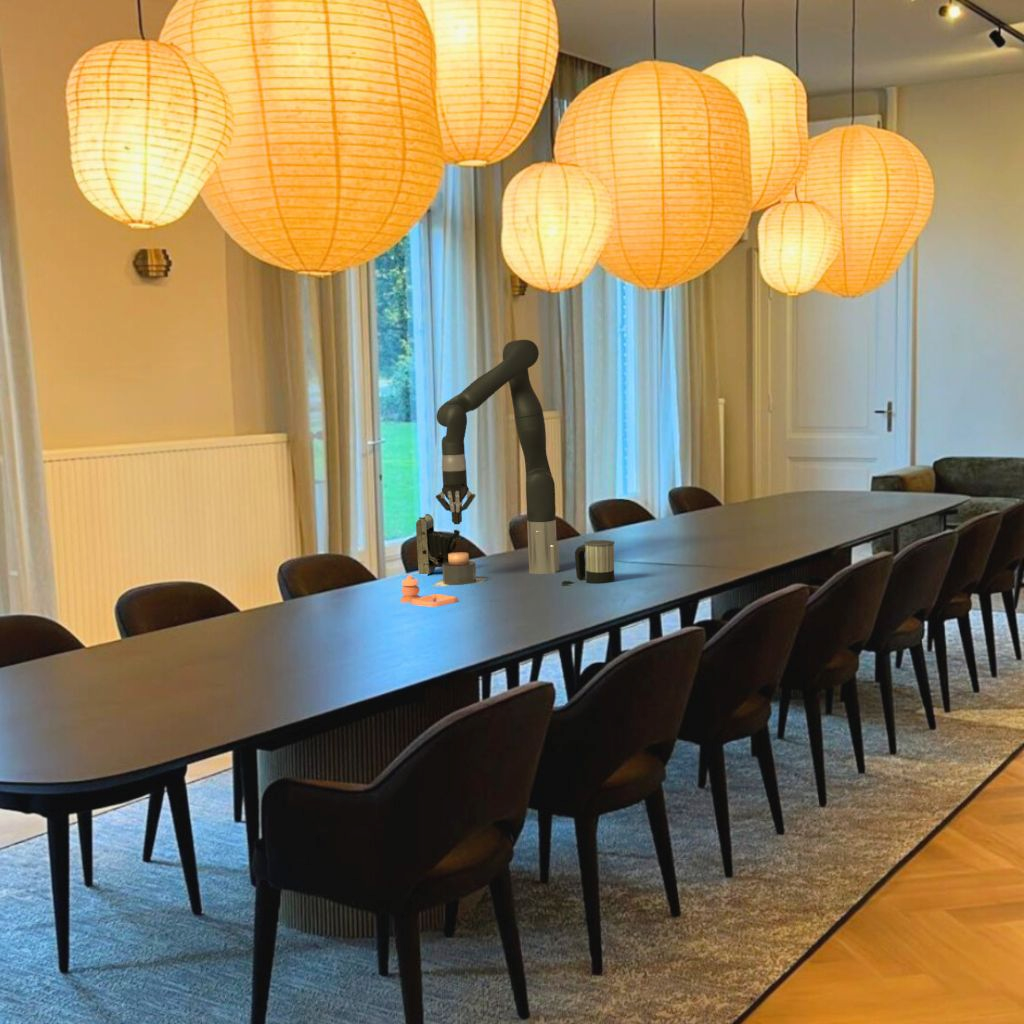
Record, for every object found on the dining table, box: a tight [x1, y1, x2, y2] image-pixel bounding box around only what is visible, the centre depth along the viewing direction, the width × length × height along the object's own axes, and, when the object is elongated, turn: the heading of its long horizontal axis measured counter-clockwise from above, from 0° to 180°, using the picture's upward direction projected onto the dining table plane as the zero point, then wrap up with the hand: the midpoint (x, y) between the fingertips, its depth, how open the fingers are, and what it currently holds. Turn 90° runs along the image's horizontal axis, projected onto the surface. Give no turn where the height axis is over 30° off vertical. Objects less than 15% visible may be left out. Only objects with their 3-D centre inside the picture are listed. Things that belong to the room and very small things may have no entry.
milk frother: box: [561, 539, 616, 587], centre depth 397 cm, size 14×16×15 cm
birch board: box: [431, 577, 488, 587], centre depth 414 cm, size 14×14×2 cm
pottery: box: [399, 574, 459, 608], centre depth 380 cm, size 18×10×10 cm, turn 47°
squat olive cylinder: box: [441, 560, 477, 586], centre depth 413 cm, size 10×10×6 cm
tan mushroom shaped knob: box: [448, 551, 470, 565], centre depth 413 cm, size 6×6×8 cm
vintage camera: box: [415, 513, 461, 575], centre depth 435 cm, size 10×15×20 cm, turn 78°
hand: (457, 523), depth 411 cm, fingers closed
